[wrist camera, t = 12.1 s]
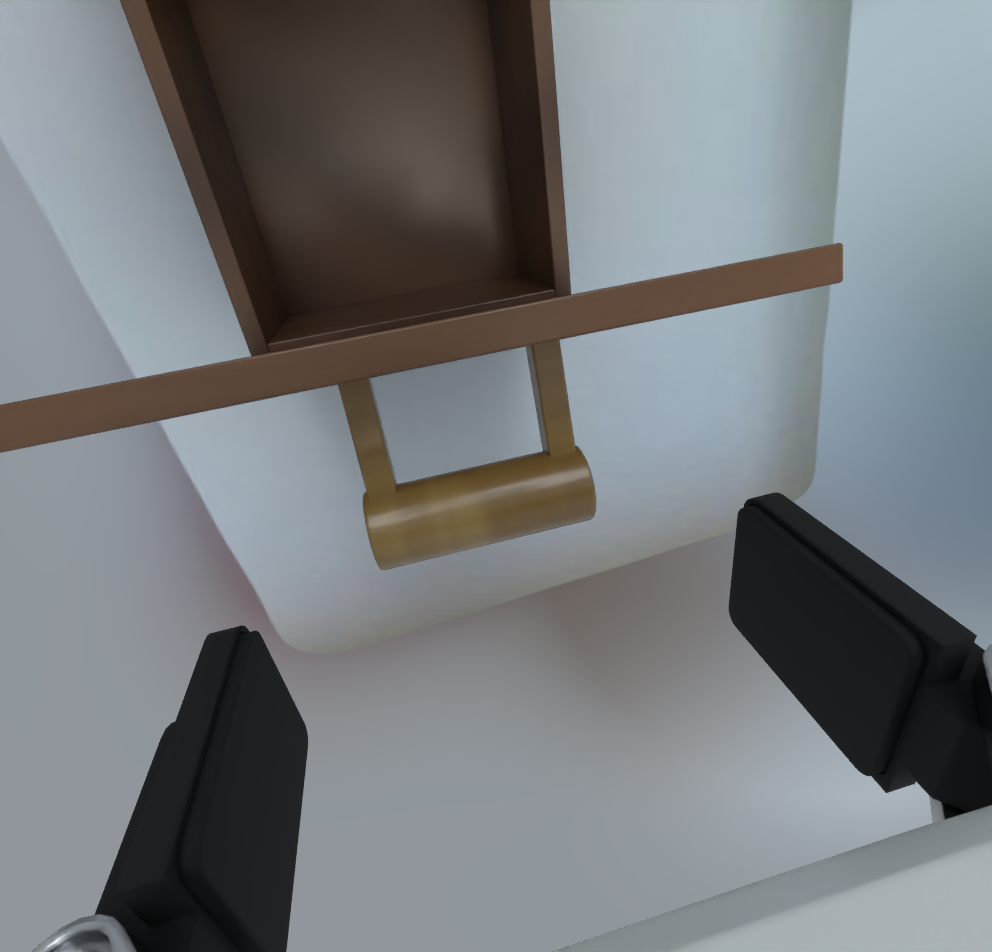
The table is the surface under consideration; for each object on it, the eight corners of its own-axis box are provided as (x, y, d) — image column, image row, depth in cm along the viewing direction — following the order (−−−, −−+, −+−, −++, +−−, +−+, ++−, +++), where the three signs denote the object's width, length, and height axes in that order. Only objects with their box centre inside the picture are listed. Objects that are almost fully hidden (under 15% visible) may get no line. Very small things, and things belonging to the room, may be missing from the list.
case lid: (-26, 409, 9) (101, 680, 11) (844, 242, 11) (843, 492, 13) (250, 359, 26) (283, 467, 28) (574, 296, 28) (588, 400, 30)
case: (162, -21, 26) (77, -114, 19) (492, -58, 28) (539, -156, 21) (280, 328, 35) (254, 365, 27) (529, 281, 37) (572, 303, 29)
